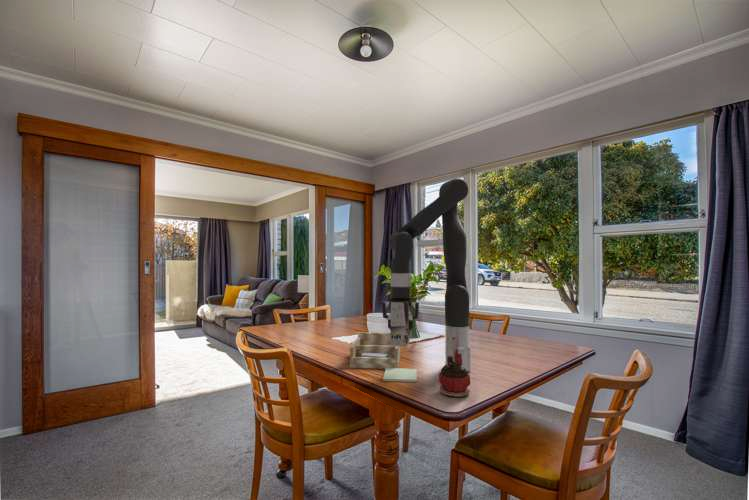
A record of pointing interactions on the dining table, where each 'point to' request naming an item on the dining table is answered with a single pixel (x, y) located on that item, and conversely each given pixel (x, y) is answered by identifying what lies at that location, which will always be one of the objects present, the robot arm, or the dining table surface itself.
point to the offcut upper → (374, 355)
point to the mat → (400, 375)
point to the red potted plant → (454, 374)
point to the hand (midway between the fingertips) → (400, 329)
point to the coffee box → (400, 323)
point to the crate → (374, 351)
